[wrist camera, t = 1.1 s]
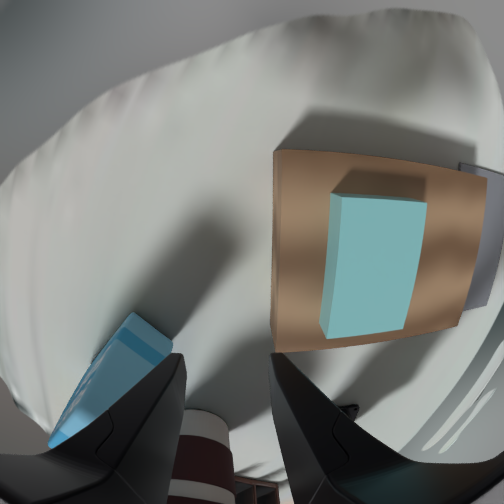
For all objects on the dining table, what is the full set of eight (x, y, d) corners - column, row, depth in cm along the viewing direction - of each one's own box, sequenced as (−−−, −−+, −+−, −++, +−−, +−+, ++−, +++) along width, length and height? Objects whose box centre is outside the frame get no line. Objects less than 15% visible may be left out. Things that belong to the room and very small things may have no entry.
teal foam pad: (390, 315, 19) (402, 328, 17) (319, 322, 19) (326, 338, 17) (410, 197, 16) (427, 202, 14) (330, 192, 16) (342, 197, 14)
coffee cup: (159, 437, 29) (141, 532, 14) (155, 392, 26) (124, 513, 11) (233, 448, 30) (235, 544, 15) (245, 406, 27) (252, 530, 12)
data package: (137, 304, 22) (78, 406, 11) (177, 335, 23) (146, 447, 12) (87, 368, 25) (44, 448, 13) (119, 391, 26) (87, 475, 14)
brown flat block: (436, 307, 24) (457, 325, 20) (270, 324, 23) (275, 353, 19) (458, 173, 20) (487, 177, 16) (273, 151, 19) (281, 149, 15)
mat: (485, 304, 25) (486, 305, 24) (433, 315, 24) (435, 316, 24) (508, 177, 20) (510, 177, 19) (459, 162, 19) (461, 163, 19)
